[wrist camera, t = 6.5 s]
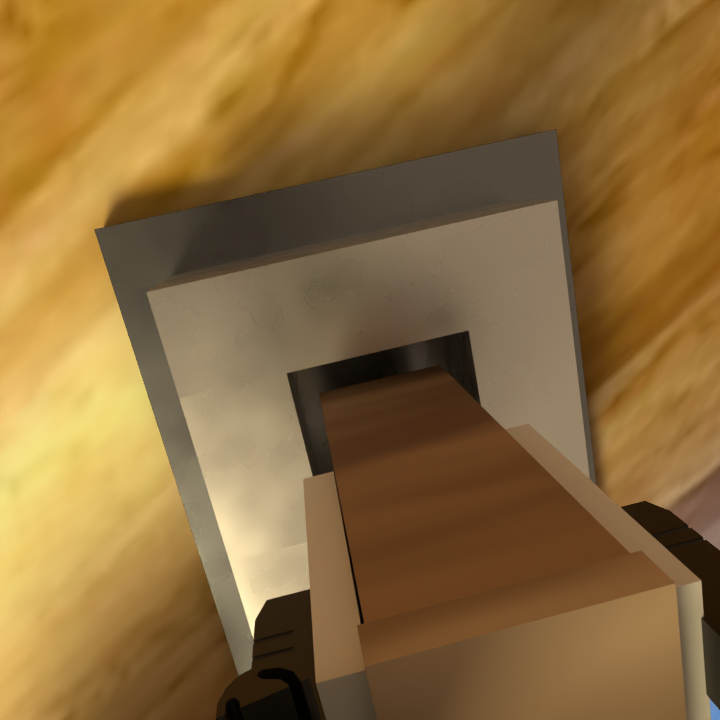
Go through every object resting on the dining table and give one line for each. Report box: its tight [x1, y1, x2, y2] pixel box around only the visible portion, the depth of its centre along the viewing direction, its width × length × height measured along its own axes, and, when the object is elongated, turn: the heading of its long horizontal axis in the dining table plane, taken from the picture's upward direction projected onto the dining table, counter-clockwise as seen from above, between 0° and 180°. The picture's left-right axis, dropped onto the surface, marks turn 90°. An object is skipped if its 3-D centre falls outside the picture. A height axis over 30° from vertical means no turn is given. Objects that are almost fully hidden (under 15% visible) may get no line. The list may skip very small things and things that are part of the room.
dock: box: [94, 129, 596, 675], centre depth 23 cm, size 28×16×5 cm, turn 12°
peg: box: [319, 365, 687, 720], centre depth 14 cm, size 4×4×12 cm
